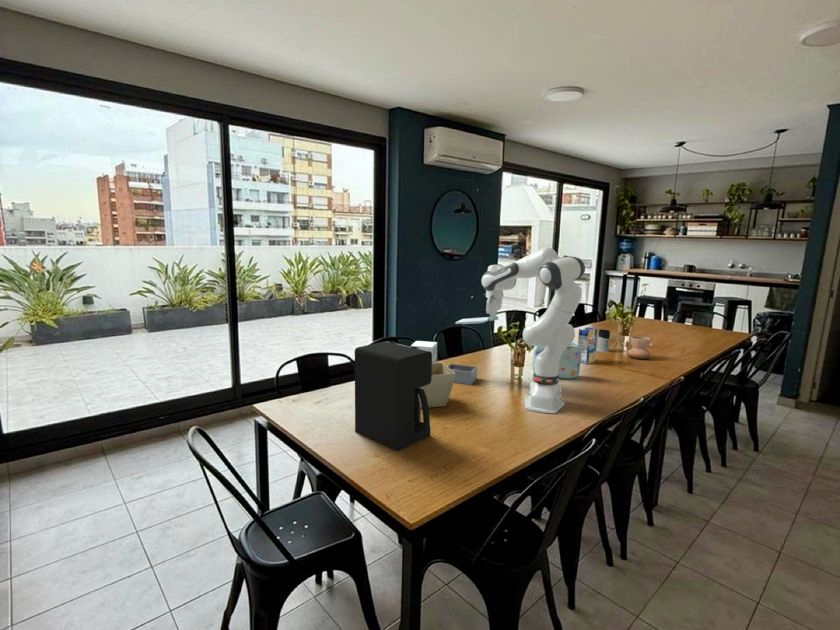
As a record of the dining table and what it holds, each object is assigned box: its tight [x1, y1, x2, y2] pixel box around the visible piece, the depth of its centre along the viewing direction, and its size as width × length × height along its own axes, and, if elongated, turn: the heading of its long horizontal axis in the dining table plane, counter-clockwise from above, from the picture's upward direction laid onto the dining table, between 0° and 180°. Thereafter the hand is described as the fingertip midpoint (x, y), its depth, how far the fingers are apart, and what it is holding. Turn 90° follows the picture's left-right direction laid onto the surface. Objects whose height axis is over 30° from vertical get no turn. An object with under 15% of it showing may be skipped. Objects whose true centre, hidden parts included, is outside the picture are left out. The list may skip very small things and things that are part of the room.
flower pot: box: [418, 362, 455, 409], centre depth 210 cm, size 19×19×17 cm
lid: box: [454, 315, 499, 325], centre depth 243 cm, size 13×22×2 cm, turn 67°
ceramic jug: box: [625, 335, 653, 360], centre depth 303 cm, size 18×14×14 cm
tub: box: [446, 363, 478, 386], centre depth 247 cm, size 12×16×7 cm
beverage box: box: [577, 326, 598, 365], centre depth 288 cm, size 7×11×22 cm, turn 131°
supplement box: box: [410, 340, 438, 363], centre depth 259 cm, size 13×13×18 cm
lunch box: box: [532, 341, 581, 380], centre depth 255 cm, size 27×10×21 cm, turn 84°
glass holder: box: [595, 329, 618, 353], centre depth 319 cm, size 9×14×15 cm, turn 40°
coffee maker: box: [353, 341, 432, 452], centre depth 172 cm, size 28×20×35 cm
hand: (493, 319), depth 239 cm, fingers closed on lid, 3 cm apart
